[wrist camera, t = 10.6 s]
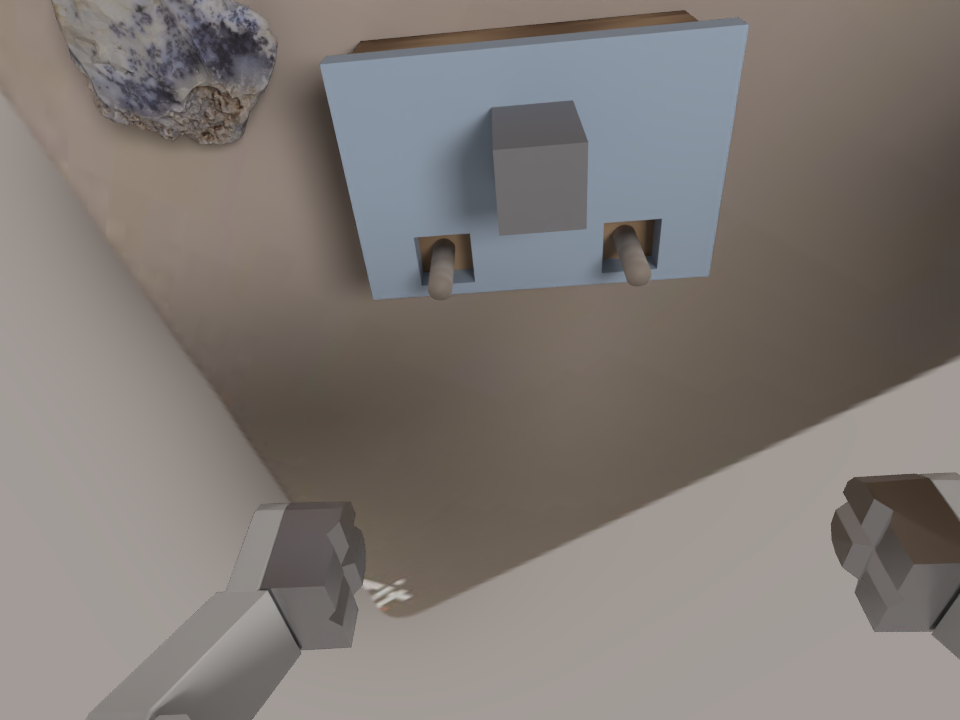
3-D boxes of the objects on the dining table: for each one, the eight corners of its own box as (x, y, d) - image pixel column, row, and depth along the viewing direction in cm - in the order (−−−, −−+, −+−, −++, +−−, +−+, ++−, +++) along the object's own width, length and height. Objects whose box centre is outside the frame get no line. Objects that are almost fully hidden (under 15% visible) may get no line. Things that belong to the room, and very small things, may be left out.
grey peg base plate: (738, 17, 23) (799, 55, 18) (701, 262, 29) (740, 334, 24) (326, 56, 23) (289, 101, 19) (376, 285, 30) (358, 360, 25)
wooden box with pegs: (684, 10, 27) (750, 59, 20) (664, 207, 32) (710, 296, 26) (360, 41, 28) (320, 98, 21) (395, 227, 33) (373, 319, 27)
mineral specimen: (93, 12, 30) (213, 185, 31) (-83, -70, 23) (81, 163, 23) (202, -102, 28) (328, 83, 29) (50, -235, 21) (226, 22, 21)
